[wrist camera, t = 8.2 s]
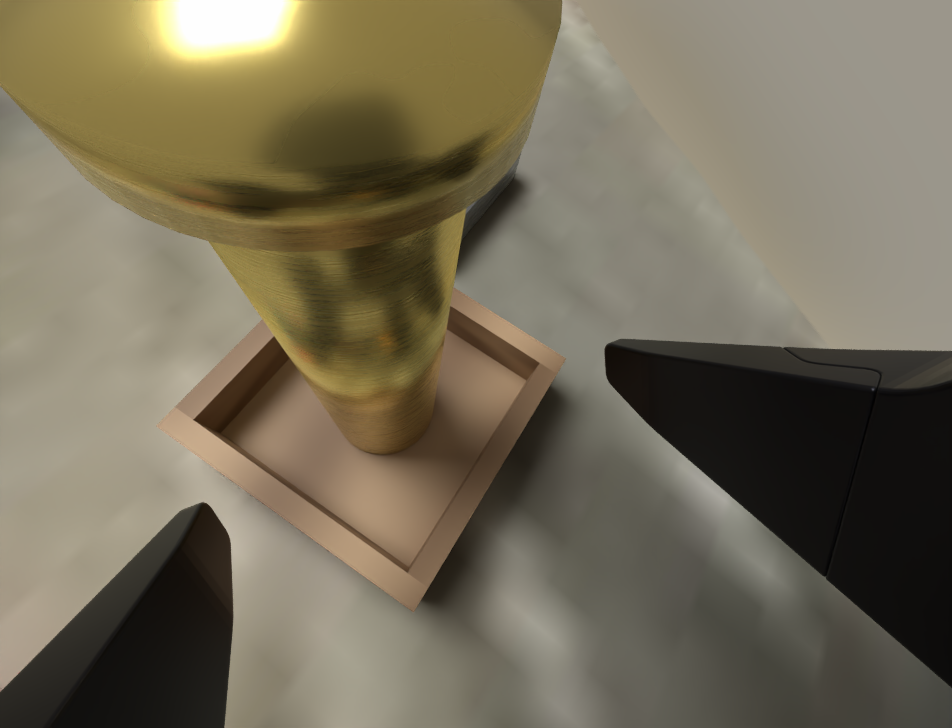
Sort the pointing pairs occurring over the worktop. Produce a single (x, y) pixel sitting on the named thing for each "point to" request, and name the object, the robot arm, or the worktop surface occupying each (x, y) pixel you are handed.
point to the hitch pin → (301, 157)
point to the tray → (365, 474)
